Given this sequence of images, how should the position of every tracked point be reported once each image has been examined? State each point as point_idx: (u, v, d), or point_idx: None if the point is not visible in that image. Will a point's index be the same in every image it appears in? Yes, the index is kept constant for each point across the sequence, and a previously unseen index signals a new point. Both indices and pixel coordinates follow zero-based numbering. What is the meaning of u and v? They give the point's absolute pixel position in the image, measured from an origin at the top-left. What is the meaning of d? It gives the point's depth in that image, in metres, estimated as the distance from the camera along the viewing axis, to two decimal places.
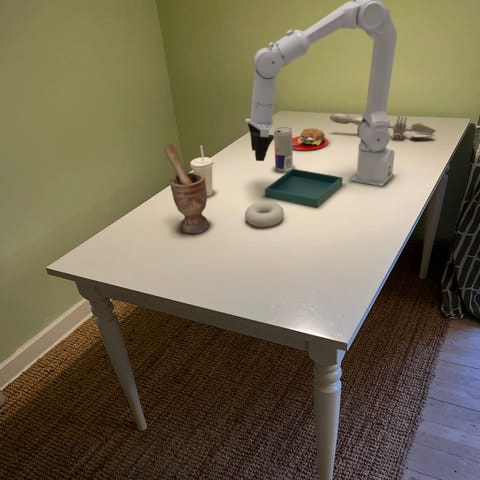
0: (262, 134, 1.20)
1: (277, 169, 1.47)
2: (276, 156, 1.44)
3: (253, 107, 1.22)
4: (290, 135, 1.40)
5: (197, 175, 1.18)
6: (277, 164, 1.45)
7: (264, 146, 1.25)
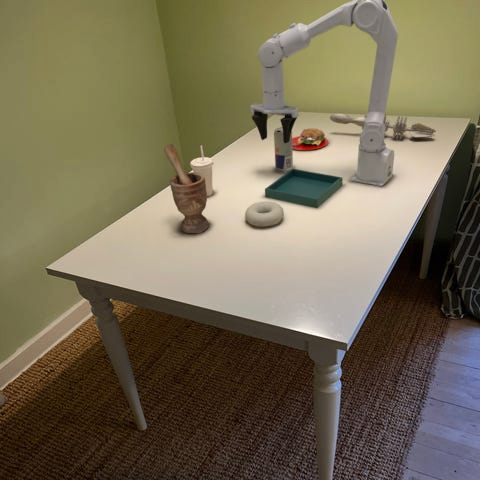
0: (295, 115, 1.30)
1: (277, 169, 1.47)
2: (276, 156, 1.44)
3: (272, 96, 1.29)
4: (290, 135, 1.40)
5: (197, 175, 1.18)
6: (277, 164, 1.45)
7: (289, 127, 1.35)
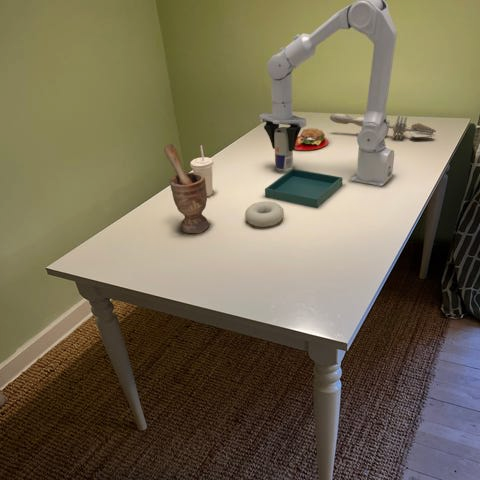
0: (303, 125, 1.35)
1: (277, 169, 1.47)
2: (276, 156, 1.44)
3: (281, 107, 1.34)
4: None
5: (197, 175, 1.18)
6: (277, 164, 1.45)
7: (294, 136, 1.40)
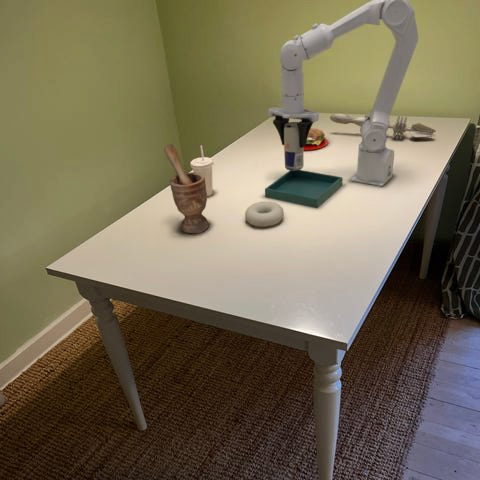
0: (315, 119, 1.26)
1: (287, 167, 1.37)
2: (286, 153, 1.35)
3: (291, 100, 1.25)
4: None
5: (197, 175, 1.18)
6: (287, 162, 1.36)
7: (305, 131, 1.31)
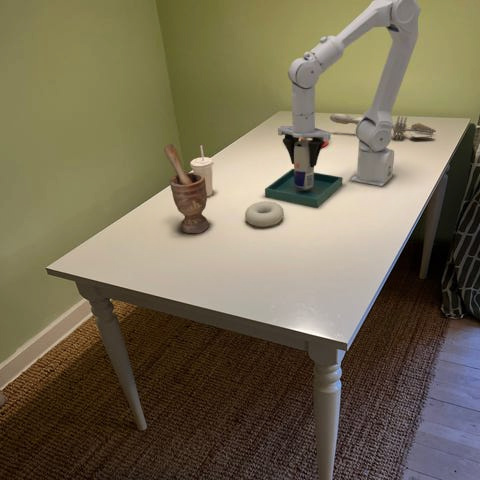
0: (327, 139, 1.21)
1: (296, 186, 1.33)
2: (296, 172, 1.30)
3: (303, 119, 1.20)
4: None
5: (197, 175, 1.18)
6: (297, 181, 1.32)
7: (316, 150, 1.27)
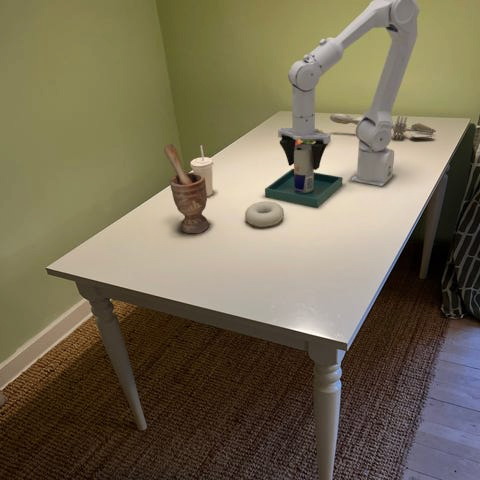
0: (327, 141, 1.22)
1: (296, 190, 1.33)
2: (296, 176, 1.31)
3: (303, 122, 1.21)
4: (312, 153, 1.27)
5: (197, 175, 1.18)
6: (297, 184, 1.32)
7: (319, 153, 1.26)
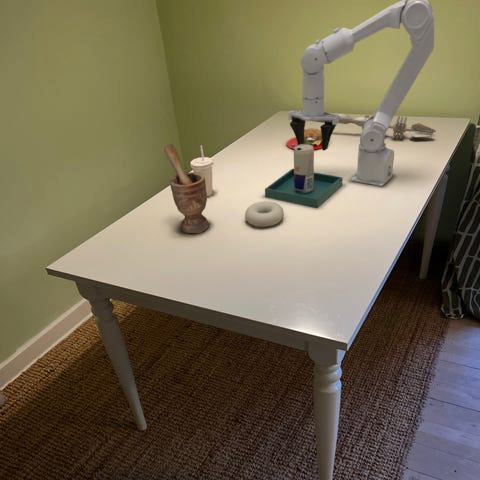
0: (336, 122, 1.28)
1: (296, 190, 1.33)
2: (296, 176, 1.31)
3: (312, 103, 1.26)
4: (312, 153, 1.27)
5: (197, 175, 1.18)
6: (297, 184, 1.32)
7: (328, 134, 1.32)
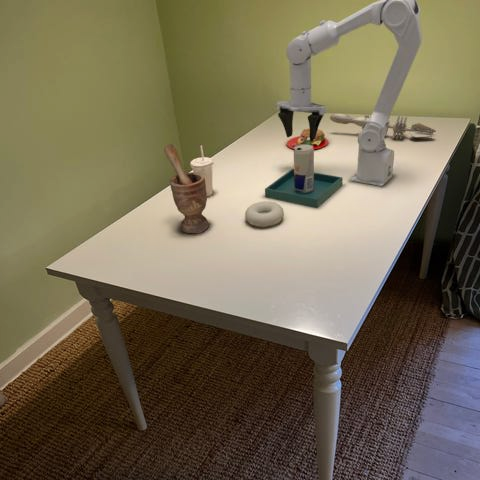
0: (323, 112, 1.30)
1: (296, 190, 1.33)
2: (296, 176, 1.31)
3: (300, 94, 1.29)
4: (312, 153, 1.27)
5: (197, 175, 1.18)
6: (297, 184, 1.32)
7: (315, 124, 1.34)
